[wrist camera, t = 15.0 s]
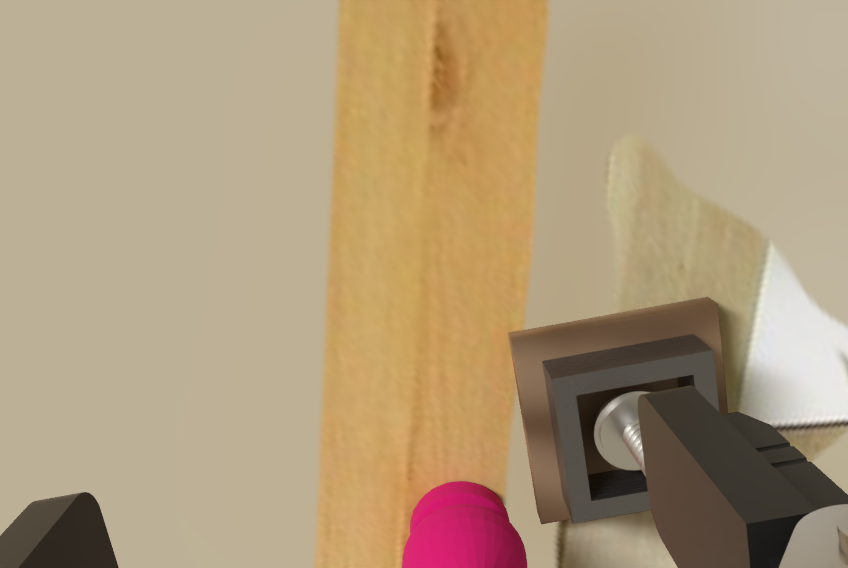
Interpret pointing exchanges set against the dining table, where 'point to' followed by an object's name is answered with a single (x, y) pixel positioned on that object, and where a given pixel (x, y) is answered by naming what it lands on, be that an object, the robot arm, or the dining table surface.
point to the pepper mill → (462, 531)
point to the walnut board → (590, 338)
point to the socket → (606, 372)
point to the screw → (620, 431)
